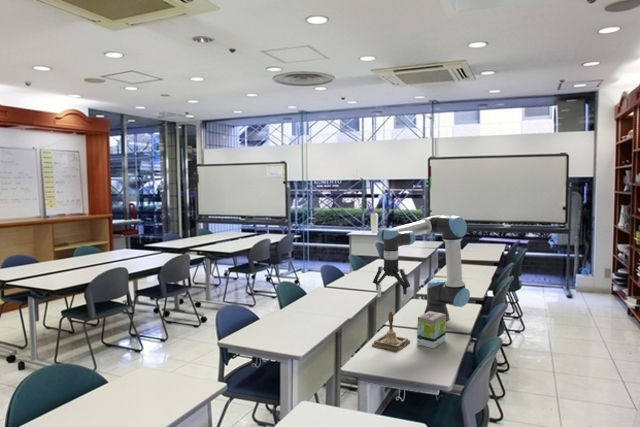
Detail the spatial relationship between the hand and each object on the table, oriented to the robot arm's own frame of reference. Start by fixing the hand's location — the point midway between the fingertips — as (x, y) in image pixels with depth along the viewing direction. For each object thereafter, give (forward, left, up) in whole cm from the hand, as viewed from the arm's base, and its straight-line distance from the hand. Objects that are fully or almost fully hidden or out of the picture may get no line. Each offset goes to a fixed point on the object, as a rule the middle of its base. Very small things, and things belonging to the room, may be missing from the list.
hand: (391, 298), depth 234 cm
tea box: (-11, +18, -23) cm, 31 cm away
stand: (+4, +2, -23) cm, 23 cm away
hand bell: (+4, +2, -22) cm, 22 cm away
